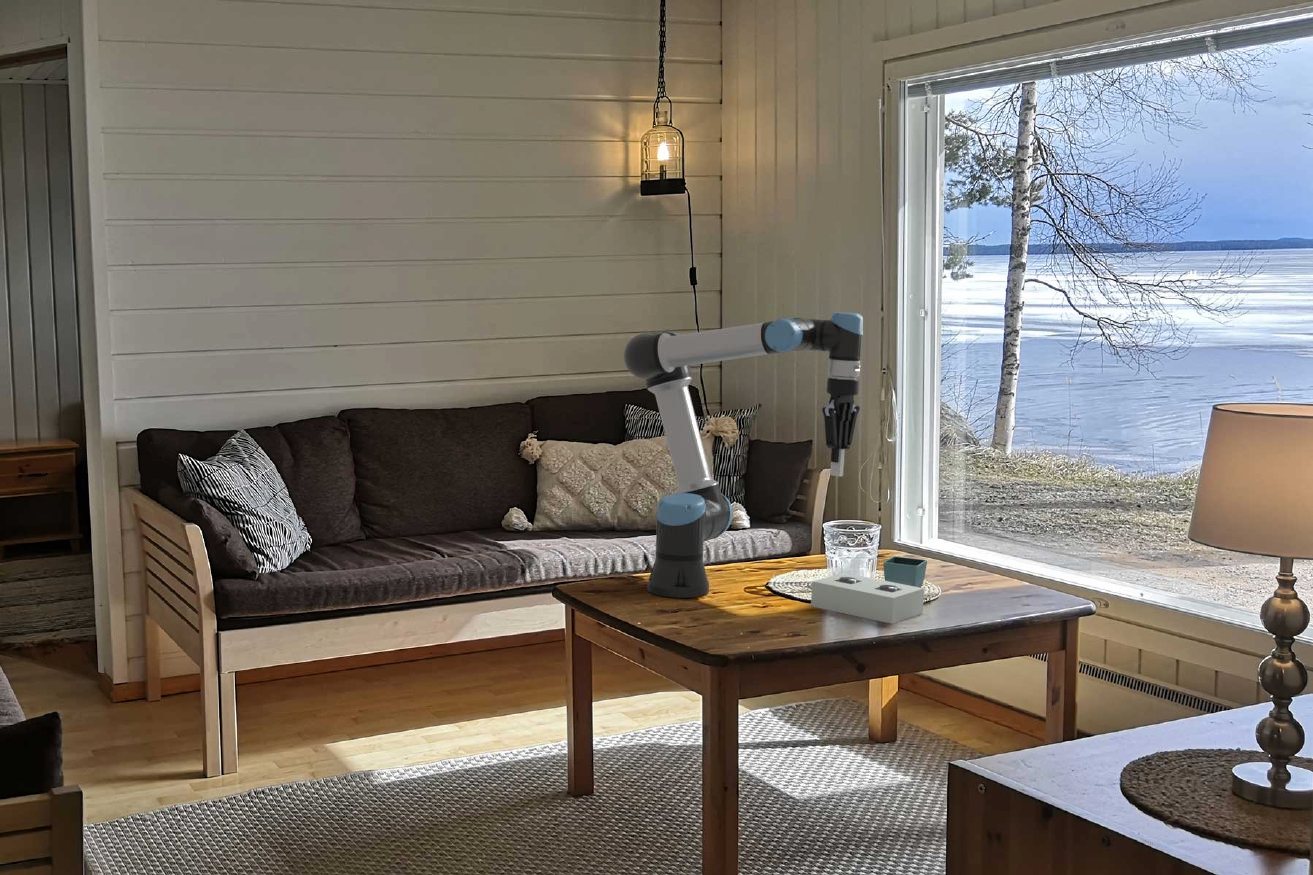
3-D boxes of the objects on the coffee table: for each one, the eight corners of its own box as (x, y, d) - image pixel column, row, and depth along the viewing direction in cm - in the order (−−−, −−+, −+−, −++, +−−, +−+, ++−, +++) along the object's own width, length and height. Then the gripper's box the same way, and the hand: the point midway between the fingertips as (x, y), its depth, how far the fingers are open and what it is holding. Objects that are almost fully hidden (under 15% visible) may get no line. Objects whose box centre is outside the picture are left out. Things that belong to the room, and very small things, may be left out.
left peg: (835, 603, 310) (836, 578, 310) (844, 600, 313) (845, 576, 313) (849, 606, 308) (850, 581, 307) (858, 603, 311) (859, 578, 310)
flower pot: (880, 597, 320) (882, 561, 319) (891, 590, 328) (893, 555, 327) (915, 602, 316) (917, 566, 315) (925, 595, 324) (927, 560, 323)
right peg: (875, 611, 303) (876, 586, 302) (883, 608, 306) (885, 583, 306) (890, 614, 301) (891, 589, 300) (898, 612, 304) (900, 586, 303)
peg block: (810, 606, 309) (812, 581, 308) (842, 596, 319) (844, 572, 319) (892, 623, 295) (893, 597, 294) (922, 613, 305) (924, 588, 305)
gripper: (841, 379, 302) (834, 480, 305) (871, 378, 312) (864, 475, 315) (814, 377, 307) (808, 475, 310) (845, 375, 317) (838, 471, 320)
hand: (836, 475), depth 313 cm, fingers closed
